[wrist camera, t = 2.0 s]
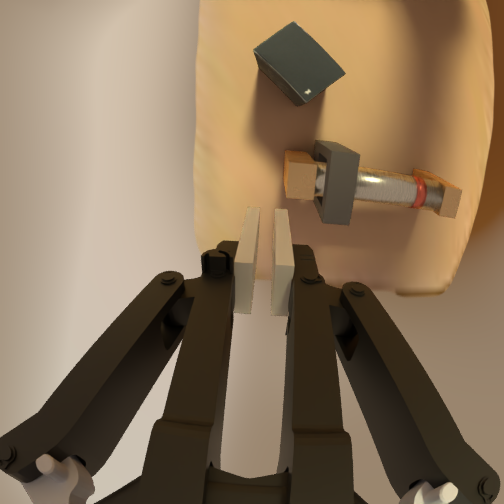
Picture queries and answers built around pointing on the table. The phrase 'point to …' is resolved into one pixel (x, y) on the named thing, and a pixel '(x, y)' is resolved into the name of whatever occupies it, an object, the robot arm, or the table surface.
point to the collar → (336, 182)
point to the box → (297, 64)
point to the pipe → (373, 185)
